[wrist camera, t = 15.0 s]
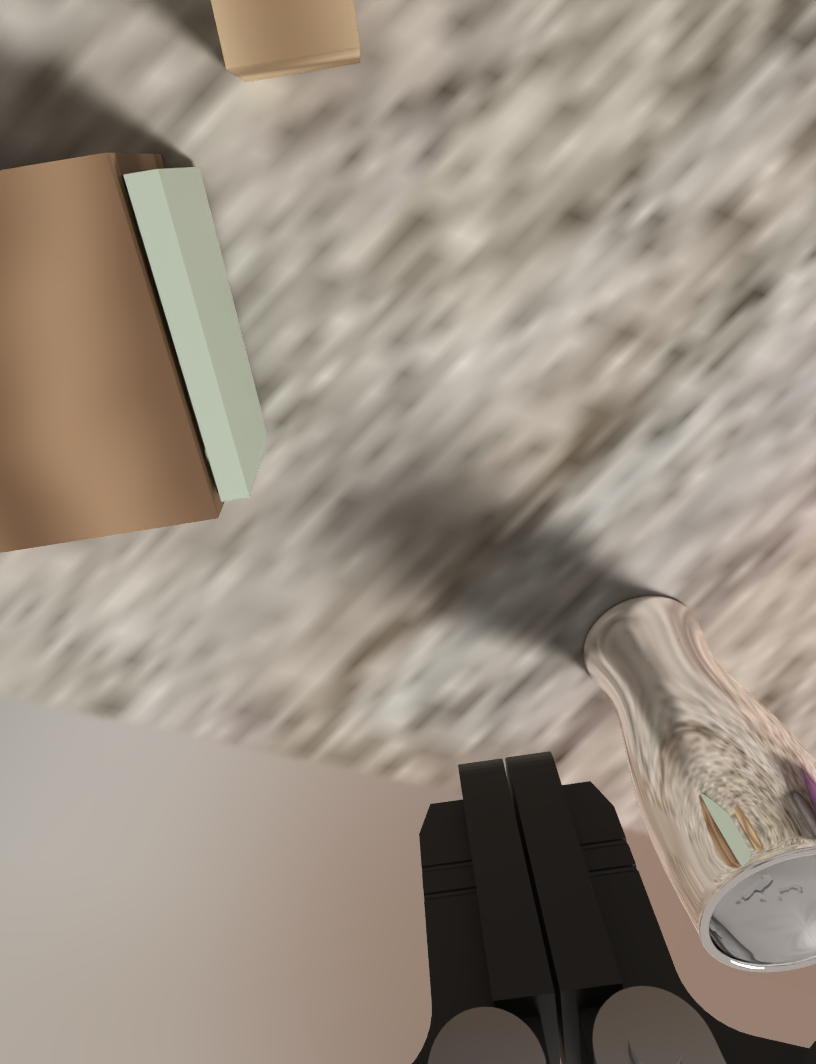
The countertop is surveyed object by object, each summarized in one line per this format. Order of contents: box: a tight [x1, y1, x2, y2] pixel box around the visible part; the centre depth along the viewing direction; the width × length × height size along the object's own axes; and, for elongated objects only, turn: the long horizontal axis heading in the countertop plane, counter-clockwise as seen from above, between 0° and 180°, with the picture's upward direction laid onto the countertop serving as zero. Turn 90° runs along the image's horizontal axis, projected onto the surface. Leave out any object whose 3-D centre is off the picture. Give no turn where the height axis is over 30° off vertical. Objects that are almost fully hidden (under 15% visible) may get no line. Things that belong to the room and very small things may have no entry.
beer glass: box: [584, 596, 816, 972], centre depth 30 cm, size 7×7×15 cm
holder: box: [0, 153, 225, 553], centre depth 25 cm, size 12×12×6 cm
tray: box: [123, 167, 268, 502], centre depth 25 cm, size 12×10×6 cm
